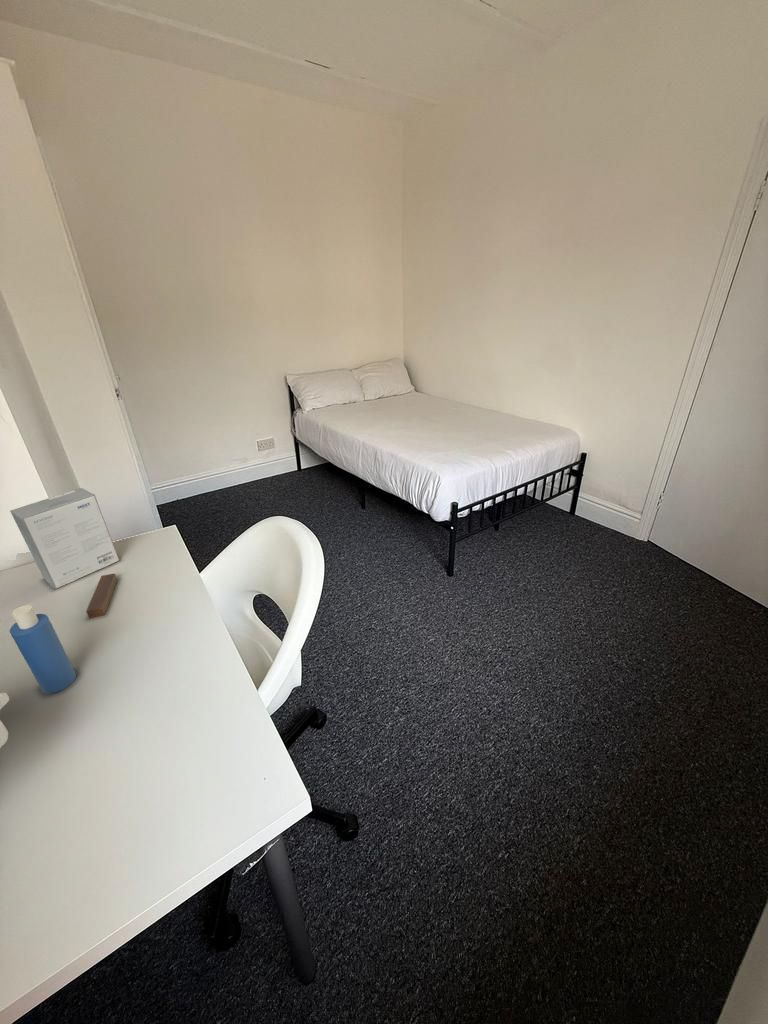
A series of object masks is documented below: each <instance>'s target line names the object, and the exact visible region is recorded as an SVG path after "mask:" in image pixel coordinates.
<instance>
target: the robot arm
mask: <svg viewBox="0 0 768 1024" xmlns="http://www.w3.org/2000/svg"><path fill="white" fill-rule="evenodd" d="M9 701H10V697H9V695H8V693H7V692H0V710H2V709H3V708H4V706H6V705H7V704H8V702H9ZM8 738H9V731H8V729H7V728H6V726H5V724H4V723H3V721H1V719H0V749H1V748H2V747H3V746H4V745H5V744H6V743H7V741H8Z"/></svg>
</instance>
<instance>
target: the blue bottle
mask: <svg viewBox="0 0 768 1024" xmlns="http://www.w3.org/2000/svg"><path fill="white" fill-rule="evenodd" d="M11 615H12V617H13V619H14V621H15V622H14V623H13V624H12V625H11V627H9V633H10V635H11V637H12V639H13V641H14V642H15V645H16V646H17V648H18V650H19V652H20V653H21V655H22V657H23V658H24V660H25V662H26V664H27V666H28V667H29V670H30V671H31V673H32V674H33V676H34V678H35V680H36V682H37V683H38V686H39V687H40V689H41V691H42V692H43V693H44V694H47V695H48V694H50V695H51V694H56V693H59V692H62V691H63V690H65V689H68V687H70V686H71V685H72V684H73V683H74V682H75V680H76V678H77V673H76V671H75V669H74V667H73V665H72V663H71V661H70V659H69V656H68V654H67V652H66V650H65V648H64V646H63V644H62V643H61V640H60V639H59V636H58V634H57V632H56V629H55V628H54V626H53V624H52V622H51V620H50V618H49V616H48V615H47V614H45V613H36V612H35V610H34V608H33V606H32V605H30V604H24V605H22V606H19V607H17V608H15V609H14V610H13V611H12V612H11Z"/></svg>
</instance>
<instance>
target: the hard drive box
mask: <svg viewBox="0 0 768 1024" xmlns="http://www.w3.org/2000/svg"><path fill="white" fill-rule="evenodd" d="M9 513H10V514H11V516H12V518H13V520H14V522H15V524H16V527H17V528H18V530H19V532H20V534H21V537H22V538H23V540H24V542H25V544H26V546H27V549H28V550H29V552H30V554H31V556H32V559H33V561H34V562H35V564H36V566H37V568H38V570H39V572H40V574H41V577H42V578H43V580H44V581H45V582H46V583H47V584H48V585H49V586H50V587H52V588H53V589H54V590H56V589H59V588H60V587H63V586H65V585H67V584H70V583H72V582H75V581H77V580H79V579H80V578H81V579H82V578H83V577H85V576H88V575H90V574H92V573H94V572H97V571H99V570H101V569H104V568H106V567H108V566H110V565H113V564H115V563H117V562H119V561H120V557H119V554H118V553H117V549H116V548H115V545H114V543H113V540H112V537H111V534H110V532H109V530H108V526H107V524H106V521H105V518H104V516H103V513H102V511H101V508H100V505H99V502H98V500H97V497H96V494H95V493H92V492H90V491H88V490H87V489H85V488H83V487H80V488H76V489H73V490H69V491H67V492H63V493H61V494H57V495H54V496H50V497H48V498H45V499H41V500H39V501H36V502H32V503H29V504H26V505H23V506H20V507H17V508H14V509H11V510H9Z"/></svg>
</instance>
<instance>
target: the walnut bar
mask: <svg viewBox="0 0 768 1024" xmlns="http://www.w3.org/2000/svg"><path fill="white" fill-rule="evenodd" d="M116 575H117V574H116V573H110V574H104V575H101V576H100V578H99V580H98V582H97V585H96V587H95V589H94V592H93V595H92V597H91V599H90V600H89V601H90V602H89V603H88V606H87V607H86V611H85V612H86V614H87V617H88V618H89V619H91V618H97V617H102V616H105V614H106V611H107V609H108V606H109V603H110V601H111V599H112V595H113V592H114V590H115V587H116V585H117V582H118V578H117V576H116Z"/></svg>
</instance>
